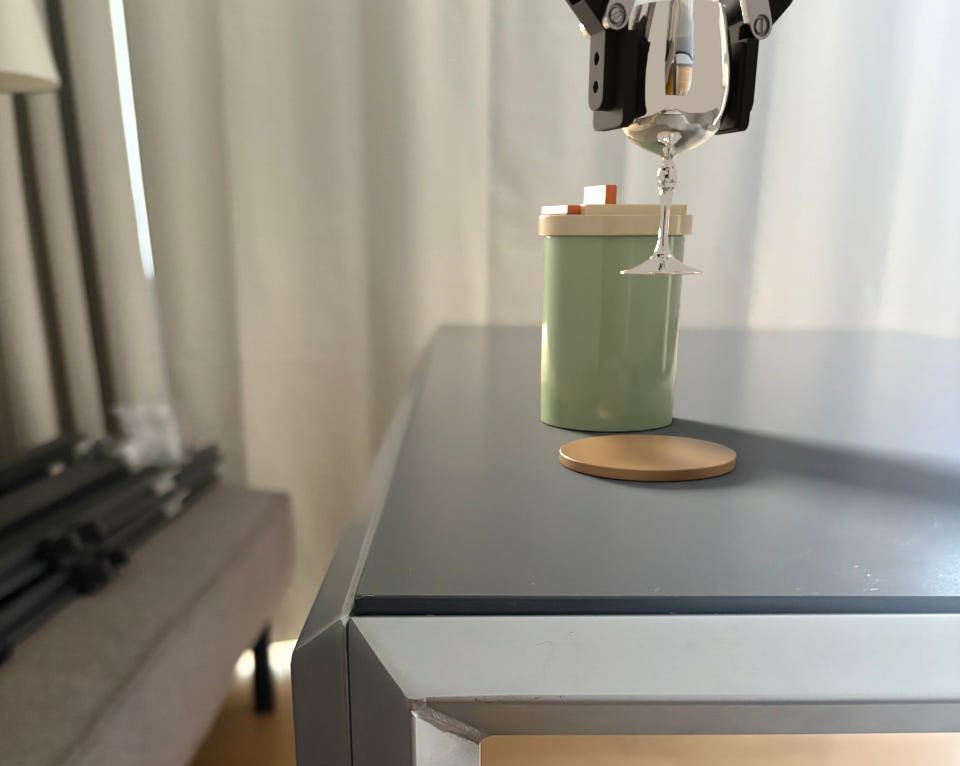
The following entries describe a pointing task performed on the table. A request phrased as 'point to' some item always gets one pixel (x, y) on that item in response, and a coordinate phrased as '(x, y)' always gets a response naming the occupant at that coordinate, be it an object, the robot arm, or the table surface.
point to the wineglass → (678, 96)
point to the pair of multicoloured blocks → (585, 200)
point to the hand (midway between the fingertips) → (670, 126)
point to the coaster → (647, 457)
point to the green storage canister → (609, 318)
